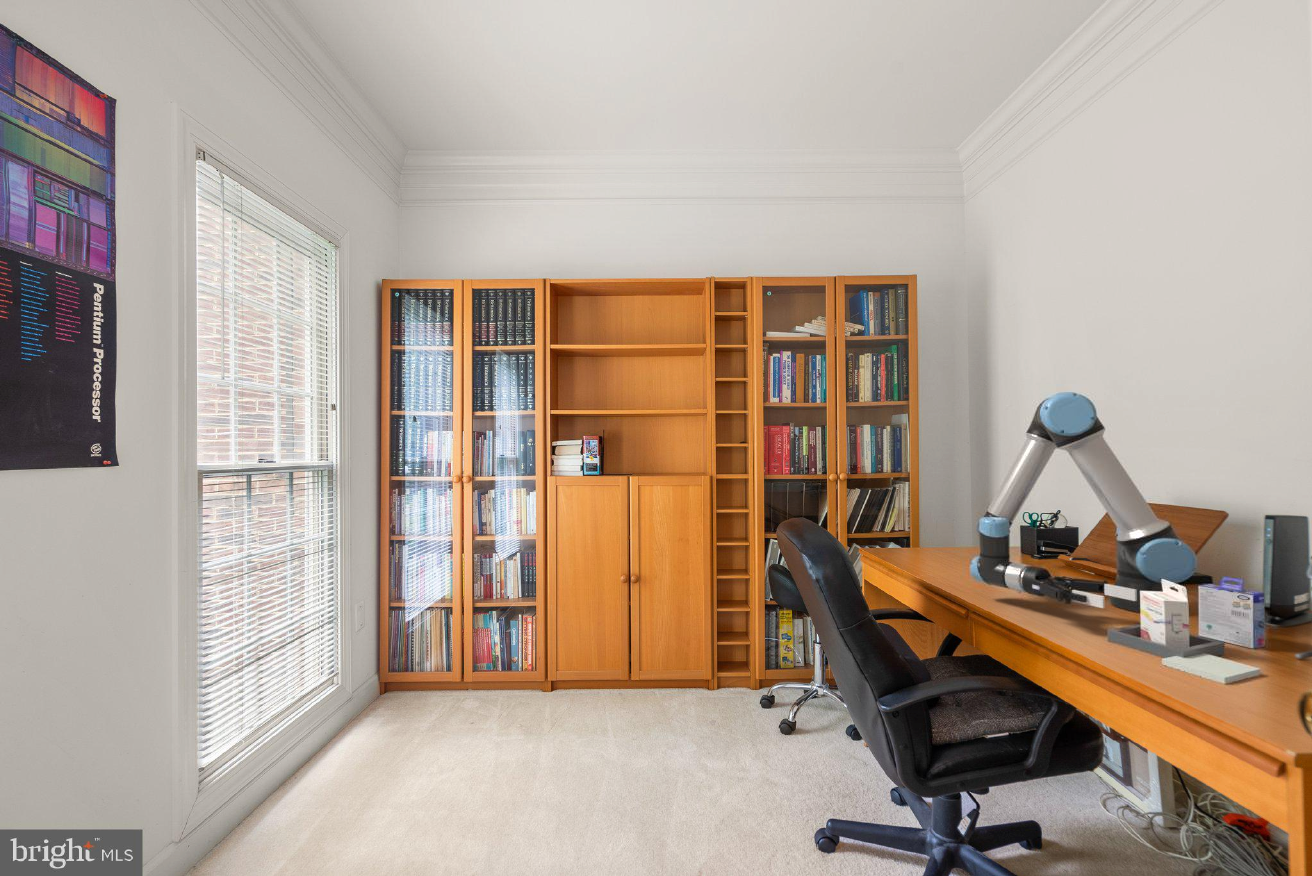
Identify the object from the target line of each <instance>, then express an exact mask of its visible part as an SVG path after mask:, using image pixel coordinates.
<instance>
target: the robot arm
mask: <svg viewBox="0 0 1312 876" xmlns="http://www.w3.org/2000/svg"><path fill="white" fill-rule="evenodd" d="M1105 431H1106V427H1105V426H1104V425H1103V423H1102V422H1101V420H1100V418H1099V417H1098V415H1097V408H1096V407H1095V405H1094V403H1093V402H1092V400H1090V399H1089V398H1088V397H1087V396H1085V395H1083V394H1081V393H1077V392H1074V391H1073V392H1071V391H1070V392H1069V391H1064V392H1063V391H1062V392H1059V393H1056V394H1053V395H1051V396H1049V397H1047V398H1046V399H1044V400H1043V401H1042V402H1040V403H1039V404H1038V406H1037V408H1036V410H1035V412H1034V415H1033V417H1032V420H1031V422H1030V425H1029V427H1028V428H1027V430H1026V432H1025V436H1026V440H1025V442H1024V443H1023V446H1022V448H1021V449H1020V451H1019V452H1018V455H1017V456H1016V458H1015V460H1014V462H1013V463H1012V465H1011V467H1010V468H1009V471H1008V473H1007V474H1006V476H1005V478H1004V479H1003V481H1002V483H1001V485H1000V487H999V489H998V490H997V492H996V494H995V495H994V498H993V499H992V501H991V503H990V504H989V506H988V509H987V510H986V512H985V514H984V515H983V517H981V518H980V519H979V521H978V524H977V525H976V533H977V536H978V539H979V541H978V542H979V555H977V556H975V557H974V558H973V559H972V560H971V564H970V566H969V571H970V575H971V576H972V578H973V579H974V580H975V581H977V582H980V583H983V584H986V585H989V586H996V587H1001V588H1005V589H1008V590H1015V591H1016V593H1017V594H1021V592H1022V593H1027V594H1029V595H1032V596H1033V595H1034V596H1039V597H1044V596H1046V597H1049V598H1052V599H1054V600H1056V601H1058V602H1063V601H1064V603H1065V605H1071V604H1072V602H1074V603H1077V604H1078V603H1079V604H1083V605H1088V606H1091V607H1096V608H1098V609H1099V608H1100V609H1104V608H1105V607H1106V606H1105V605H1106V604H1105V596H1109V603H1110V604H1111V605H1113V606H1114V607H1116V608H1119V609H1123V610H1127V611H1132V612H1137V613H1140V591H1159V592H1163V589H1162V582H1161V580H1162V579H1164V580H1167V581H1170V582H1173V583H1175V584H1179V583H1181V582H1184V581H1186V580H1188V579H1189V578H1191V577H1192V576H1193V574H1194V573H1195V571H1196V570H1197V567H1198V558H1197V555H1196V553H1195V551H1194V550H1193V549H1192V547H1190V546H1189V544H1187V543H1186V542H1184V541H1182V540H1181V538H1180V537H1179V535H1178V534H1177V532H1176V530H1174V528H1173V527H1172V525H1171V523H1170V521H1167V520H1163V519H1160V518H1158V517H1157V516H1156V514H1155V512H1154V511H1153V510H1152V508H1151V506H1150V505H1149V504H1148V502H1147V500H1146V498H1145V497H1144V496H1143V494H1142V493H1141V491H1140V490H1139V488H1138V487H1137V486H1136V484H1135V483H1134V481H1133V480H1132V478H1131V477H1130V476H1129V473H1127V471H1126V469H1125V468H1124V466H1123V465H1122V463H1121V462H1120V460H1119V459H1118V458H1117V456H1116V454H1115V453H1114V451H1113V450H1112V449H1111V447H1110V446H1109V443H1108V442H1107V441H1106V440H1105V438H1104V434H1105ZM1056 449H1058V450H1062V451H1066V452H1067V453H1068V454H1069V456H1070V458H1071V459H1072V460H1073V462H1074V464H1075V465H1076V467H1077V468H1078V470H1079V471H1080V473H1081V474H1082V475H1083V478H1084V480H1086V482H1087V484H1088V485H1089V486H1090V488H1091V490H1092V492H1093V493H1094V494H1095V496H1096V497H1097V499H1098V500H1099V502H1100V503H1101V505H1102V506H1103V508H1104V510H1105V511H1106V513H1107V514H1108V516H1109V517H1110V519H1111V520H1112V522H1113V523H1114V525H1115V526H1116V533H1115V538H1116V540H1115V541H1116V578H1115V582H1113V584H1110V583H1109V582H1108V580H1105V579H1104V580H1103V581H1102V580H1101V581H1100V580H1092V579H1085V578H1078V577H1077V578H1076V577H1070V576H1065V575H1064V576H1058V575H1057V576H1056V575H1055V576H1052V575H1051V572H1050V571H1049V570H1048V569H1047V568H1044V567H1043V568H1042V567H1040V566H1035V565H1034V566H1033V565H1029V564H1025V563H1018V562H1013V561H1011V560H1010V559H1011V558H1010V557H1011V555H1010V553H1011V552H1010V549H1011V548H1010V547H1011V546H1010V541H1011V540H1010V538H1011V537H1010V533H1011V530H1010V528H1011V527H1012V525H1013V523H1014V521H1015V520H1016V517H1017V516H1018V515H1019V513H1020V510H1021V509H1022V508H1023V506H1024V504H1025V502H1026V500H1027V499H1028V497H1029V495H1030V494H1031V492H1032V490H1033V488H1034V486H1035V485H1036V483H1037V481H1038V479H1039V478H1040V476H1041V474H1042V473H1043V471H1044V469H1045V467H1046V466H1047V464H1048V463H1049V460H1050V459H1051V457H1052V456H1053V454H1054V452H1055V451H1056ZM1170 589H1171V590H1174V591H1176V589H1175V587H1170ZM1096 593H1097V594H1096ZM1100 594H1104V595H1100Z"/></svg>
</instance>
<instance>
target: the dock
mask: <svg viewBox="0 0 1312 876" xmlns="http://www.w3.org/2000/svg"><path fill="white" fill-rule="evenodd" d="M1106 631H1107V633H1106V634H1107V642H1110V643H1113V644H1117V645H1121V646H1124V647H1126V646H1127V648H1130V649H1133V648H1134V649H1133V650H1136V649H1138V650H1137V651H1141V652H1143V651H1145V652H1144V653H1147V654H1150V653H1151V654H1150V655H1154V656H1157V655H1158V656H1157V657H1160V656H1161V657H1160V658H1162V659H1164V658H1168V657H1173V656H1179V657H1182V658H1185V657H1190V656H1194V655H1199V654H1203V653H1205V654H1209V655H1213V656H1216V657H1219V656H1224V655H1226V653H1225V652H1226V650H1225V644H1226V642H1223V641H1219V640H1214V639H1210V638H1206V637H1202V636H1199V635H1195V634H1192V633H1189V647H1186V648H1182V649H1179V648H1175V647H1171V646H1168V645H1164V644H1161V643H1157V642H1154V641H1150V640H1147V639H1143V638H1141V623H1140V624H1134V625H1128V626H1123V627H1117V628H1112V629H1107V630H1106ZM1190 646H1191V647H1190Z"/></svg>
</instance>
